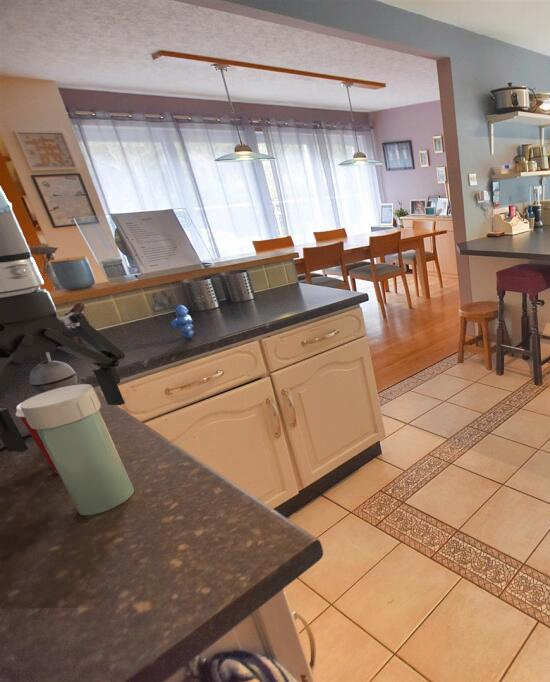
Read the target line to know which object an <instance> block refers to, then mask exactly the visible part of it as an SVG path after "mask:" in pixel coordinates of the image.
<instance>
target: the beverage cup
mask: <svg viewBox="0 0 550 682" xmlns="http://www.w3.org/2000/svg"><path fill="white" fill-rule="evenodd" d="M45 355H46V359H47V361H43V362H40V363H38V364H37V365H35V366H34V367H33V368H32V370H31V371H30V373H29V383H30V387H32V388H33V390H34V391H35V392H36V393H37V394H41V393H44V392H47V391H50V390H54V389H57V388H61V387H66V386H71V385H78V378H77V372H76V371H75V370H74V369H73V368H72V367H71V366H70V365H69V364H68V363H66V362H63V361H59V360H52V358H51V354H50V352H47V353H45Z"/></svg>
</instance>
